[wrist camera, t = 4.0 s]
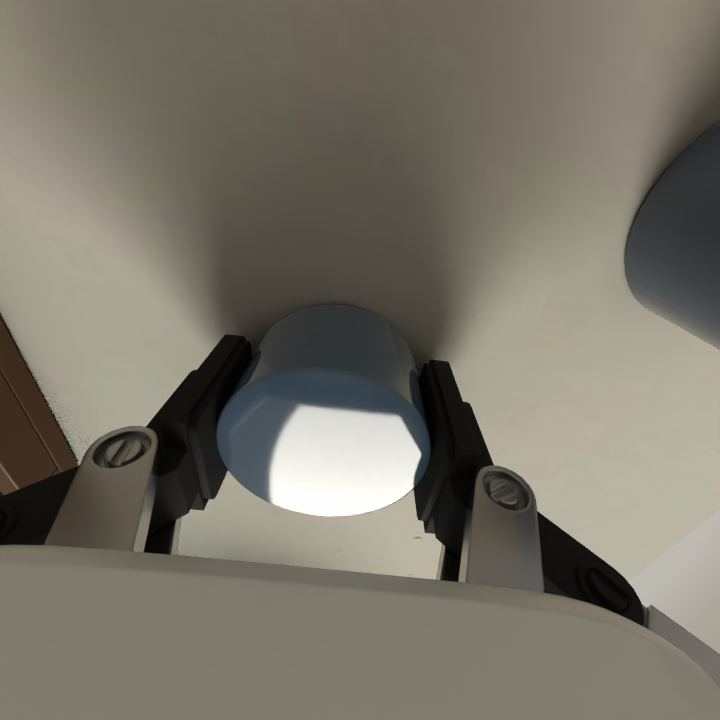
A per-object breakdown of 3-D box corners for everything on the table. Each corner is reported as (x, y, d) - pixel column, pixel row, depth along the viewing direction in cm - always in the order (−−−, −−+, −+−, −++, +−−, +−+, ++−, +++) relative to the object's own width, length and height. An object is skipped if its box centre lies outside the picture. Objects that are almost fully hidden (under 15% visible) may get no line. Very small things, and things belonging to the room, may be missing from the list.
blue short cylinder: (293, 270, 9) (257, 325, 6) (449, 353, 11) (478, 430, 8) (235, 398, 12) (191, 479, 9) (365, 451, 13) (363, 536, 10)
